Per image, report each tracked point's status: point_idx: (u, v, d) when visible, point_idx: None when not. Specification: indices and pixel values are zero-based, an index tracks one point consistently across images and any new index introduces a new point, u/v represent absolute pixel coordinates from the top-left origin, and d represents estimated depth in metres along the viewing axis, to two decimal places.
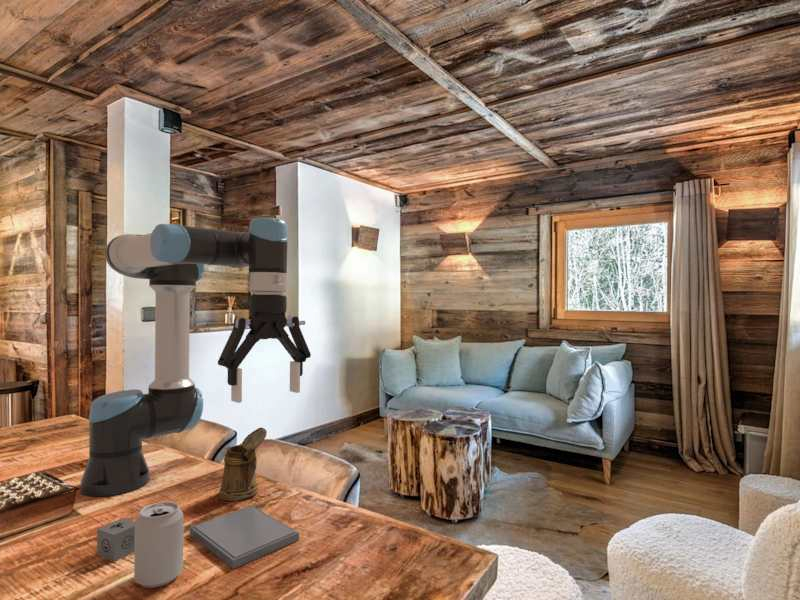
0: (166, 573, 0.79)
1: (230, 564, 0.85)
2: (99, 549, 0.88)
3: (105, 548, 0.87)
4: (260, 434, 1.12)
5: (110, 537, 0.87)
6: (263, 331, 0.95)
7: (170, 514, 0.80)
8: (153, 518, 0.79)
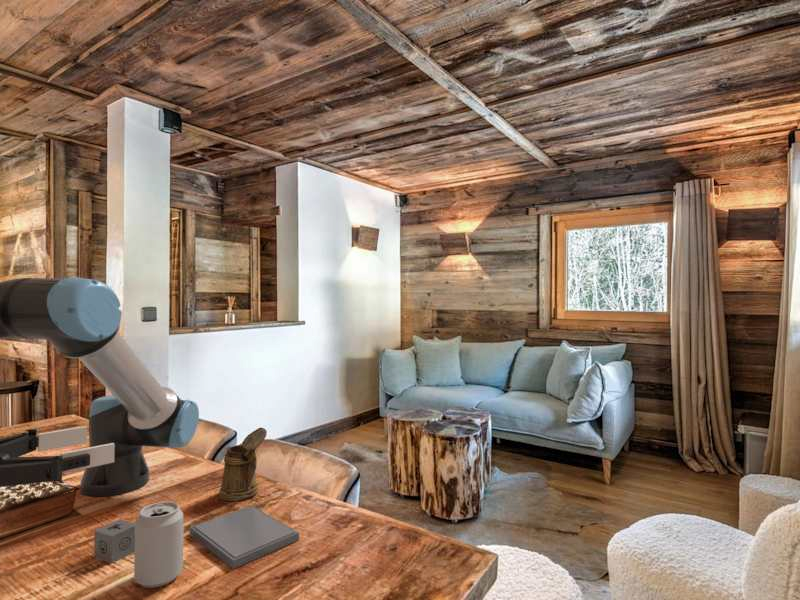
0: (166, 573, 0.79)
1: (230, 564, 0.85)
2: (96, 551, 0.88)
3: (102, 550, 0.87)
4: (260, 434, 1.12)
5: (107, 539, 0.86)
6: None
7: (170, 514, 0.80)
8: (153, 518, 0.79)
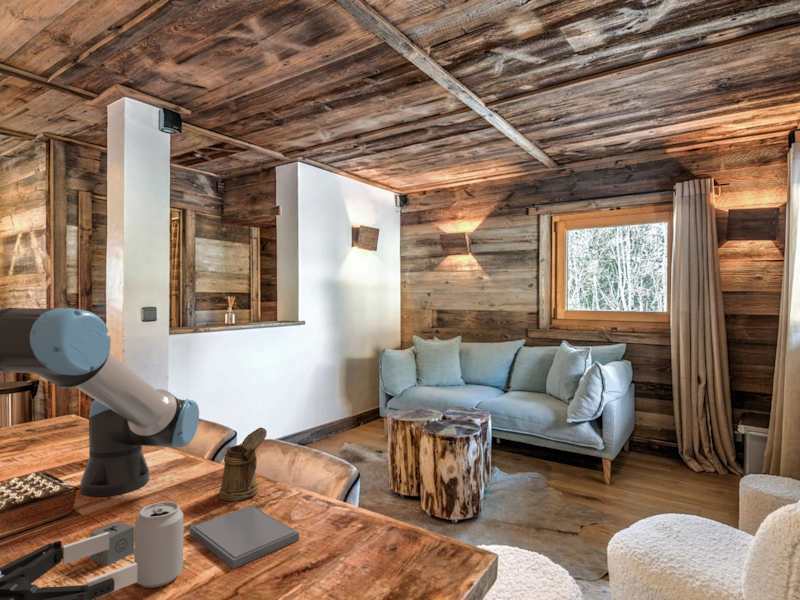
0: (166, 573, 0.79)
1: (230, 564, 0.85)
2: None
3: (99, 552, 0.86)
4: (260, 434, 1.12)
5: None
6: None
7: (170, 514, 0.80)
8: (153, 518, 0.79)
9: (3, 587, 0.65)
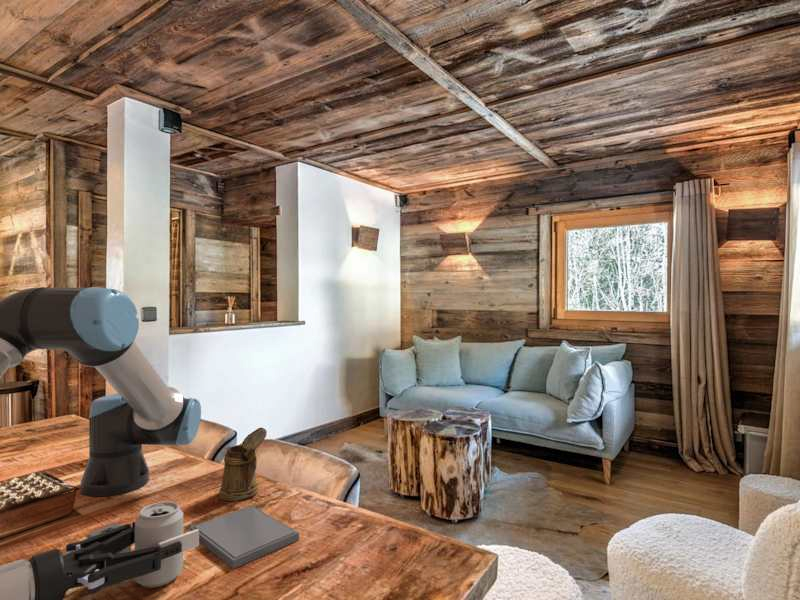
0: (166, 573, 0.79)
1: (230, 564, 0.85)
2: None
3: None
4: (260, 434, 1.12)
5: None
6: None
7: (170, 514, 0.80)
8: (153, 518, 0.79)
9: (82, 558, 0.72)
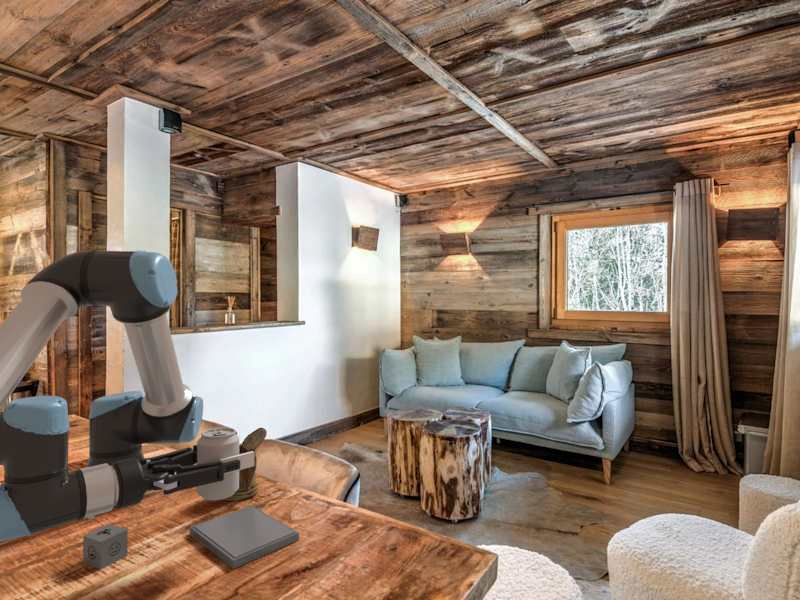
0: (226, 487, 0.87)
1: (230, 564, 0.85)
2: (85, 556, 0.86)
3: (91, 555, 0.85)
4: (260, 434, 1.12)
5: (96, 544, 0.84)
6: None
7: (229, 435, 0.88)
8: (214, 437, 0.87)
9: (155, 466, 0.80)
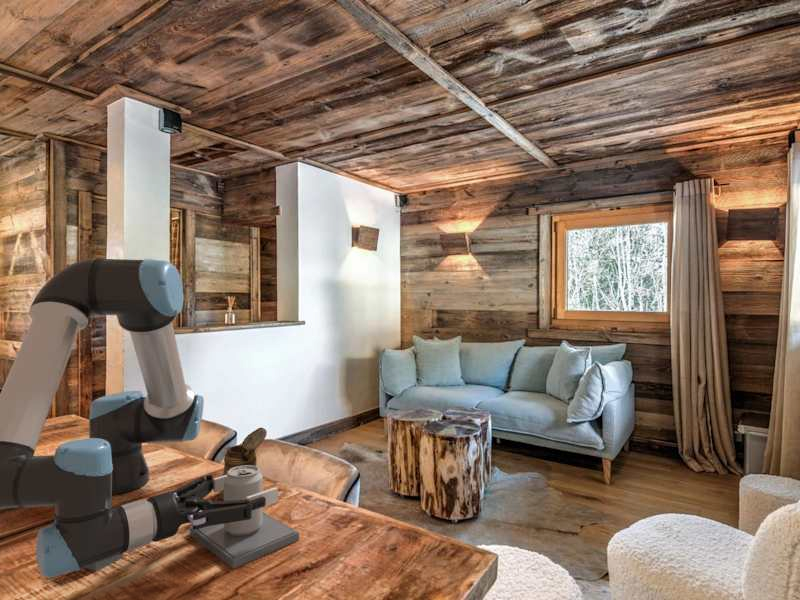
0: (251, 523, 0.93)
1: (230, 564, 0.85)
2: None
3: None
4: (260, 434, 1.12)
5: None
6: None
7: (254, 474, 0.94)
8: (241, 477, 0.92)
9: (188, 500, 0.86)
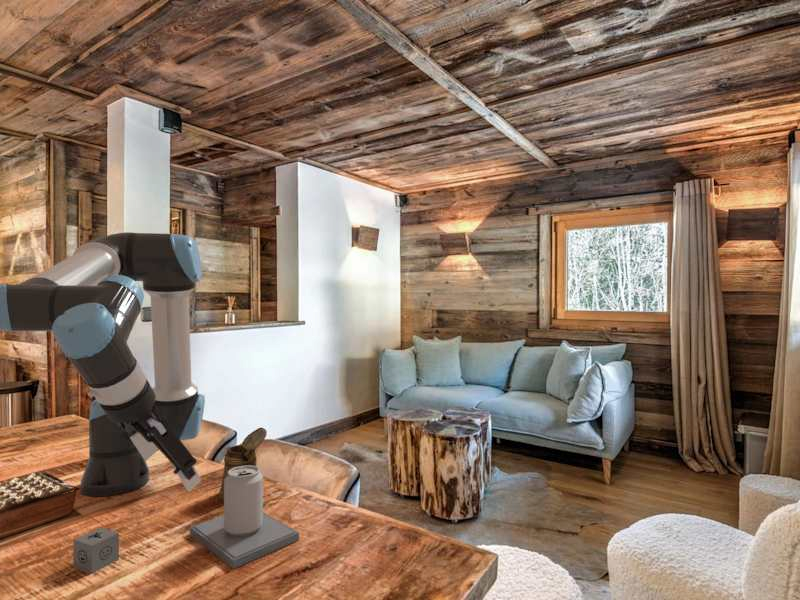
0: (251, 524, 0.93)
1: (230, 564, 0.85)
2: (75, 561, 0.84)
3: (82, 559, 0.84)
4: (260, 434, 1.12)
5: (87, 548, 0.83)
6: None
7: (254, 474, 0.94)
8: (241, 477, 0.92)
9: (153, 410, 0.81)
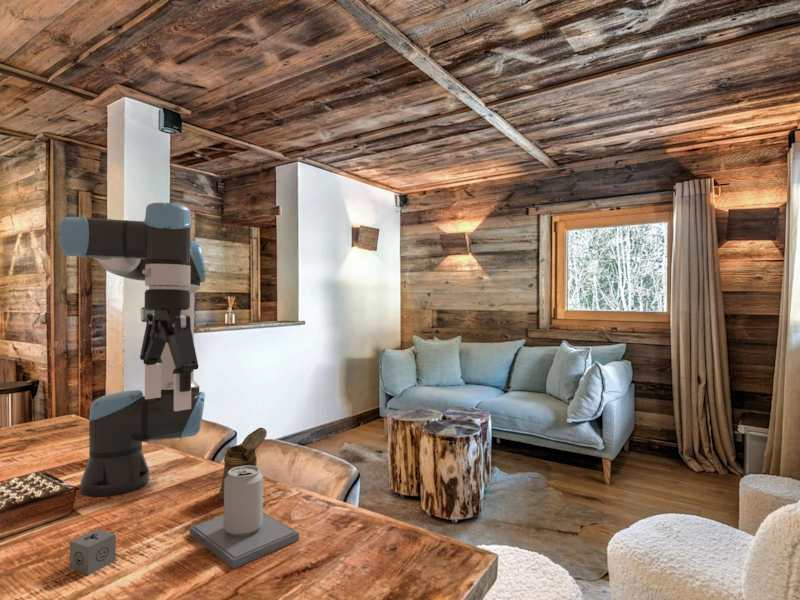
0: (251, 524, 0.93)
1: (230, 564, 0.85)
2: (72, 562, 0.84)
3: (78, 561, 0.83)
4: (260, 434, 1.12)
5: (84, 549, 0.82)
6: (153, 329, 0.87)
7: (254, 474, 0.94)
8: (241, 477, 0.92)
9: None
